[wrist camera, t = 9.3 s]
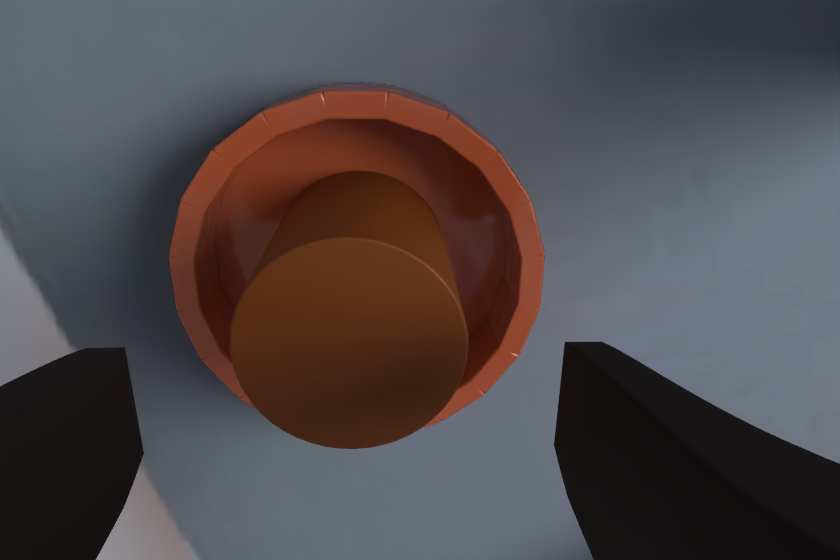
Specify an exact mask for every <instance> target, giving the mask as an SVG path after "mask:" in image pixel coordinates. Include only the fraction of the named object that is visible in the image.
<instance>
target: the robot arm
mask: <svg viewBox="0 0 840 560" xmlns="http://www.w3.org/2000/svg"><path fill="white" fill-rule="evenodd" d="M554 446H555V450H556V454H557V458H558V462H559V466H560V470H561V474H562V478H563V481H564V485H565V489H566V492H567V496H568V499H569V501H570V504H571V506H572V509H573V511H574V514H575V516H576V518H577V521H578V523H579V526H580V528H581V530H582V533H583V535H584V538H585V540H586V542H587V545H588V547H589V549H590V552H591V554H592V557H593V559H594V560H840V464H839V463H836V462H834V461H831V460H829V459H826V458H824V457H822V456H819V455H817V454H815V453H812V452H810V451H808V450H805V449H803V448H801V447H798V446H796V445H794V444H791V443H789V442H787V441H785V440H782V439H780V438H778V437H776V436H774V435H771V434H769V433H767V432H765V431H763V430H761V429H759V428H757V427H755V426H753V425H751V424H749V423H747V422H745V421H743V420H741V419H739V418H737V417H735V416H733V415H731V414H729V413H728V412H726V411H724V410H722V409H720V408H718V407H716V406H714V405H712V404H711V403H709V402H707V401H705V400H703V399H702V398H700V397H698V396H696V395H694V394H693V393H691V392H689V391H687V390H686V389H684V388H682V387H681V386H679V385H677V384H675V383H674V382H672V381H670V380H669V379H667V378H665V377H664V376H662V375H660V374H659V373H657V372H655V371H654V370H652V369H650V368H648V367H647V366H645V365H643V364H642V363H640V362H638V361H637V360H635V359H633V358H632V357H630V356H628V355H626V354H625V353H623V352H621V351H619V350H617V349H616V348H614V347H612V346H610V345H608V344H605V343H603V342H565V346H564V356H563V366H562V375H561V385H560V394H559V404H558V413H557V423H556V432H555V442H554ZM143 454H144V452H143V447H142V441H141V435H140V430H139V424H138V418H137V413H136V407H135V401H134V396H133V390H132V385H131V379H130V373H129V368H128V362H127V356H126V351H125V348H85V349H82V350H79V351H76V352H73V353H71V354H68V355H66V356H64V357H61V358H59V359H57V360H54V361H52V362H50V363H48V364H46V365H43V366H41V367H39V368H37V369H35V370H33V371H31V372H29V373H27V374H25V375H23V376H21V377H18V378H16V379H14V380H12V381H10V382H8V383H6V384H4V385H2V386H0V560H96V558H97V556H98V554H99V553H100V551H101V549H102V547H103V545H104V543H105V541H106V540H107V538H108V536H109V534H110V532H111V530H112V529H113V527H114V525H115V523H116V521H117V519H118V517H119V515H120V513H121V512H122V509H123V508H124V505H125V503H126V500H127V498H128V495H129V492H130V490H131V487H132V485H133V482H134V479H135V477H136V474H137V471H138V468H139V465H140V462H141V460H142V457H143Z"/></svg>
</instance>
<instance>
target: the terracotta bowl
mask: <svg viewBox="0 0 840 560" xmlns="http://www.w3.org/2000/svg"><path fill="white" fill-rule="evenodd" d="M347 171H371V172H376V173H381V174H384V175H387V176H390V177H393V178H395V179H397V180H399V181H401V182H403V183H405V184H406V185H408V186H409V187H411V188H412V189H413V190H415V191H416V192H417V193H418V194H419V195H420V196H421V197H422V198H423V199H424V200H425V201H426V202H427V204H428V205H429V206H430V208H431V209H432V211H433V212H434V214H435V216H436V218H437V220H438V223H439V226H440V229H441V232H442V235H443V239H444V243H445V246H446V250H447V254H448V257H449V261H450V265H451V268H452V272H453V276H454V280H455V283H456V287H457V291H458V294H459V298H460V302H461V305H462V309H463V313H464V316H465V320H466V326H467V331H468V356H467V363H466V367H465V370H464V374H463V377H462V379H461V381H460V384H459V386H458V388H457V390H456V391H455V393H454V395H453V396H452V398H451V400H450V401H449V402H448V403H447V405H446V406H445V407H444V408H443V410H442V411H441V412H440V413H439V414H438V415H437V416H436V417H435V418H434V419H432V420H431V421H430V422H429V423H427V424H426V425H425V426H423V427H426V426H429V425H433V424H436V423H439V422H440V420H441V421H443V420H445V419H446V418H448V417H449V416H451V415H453V414H454V413H456V412H457V411H459V410H461V409H462V408H464V407H465V406H467V405H469V404H470V403H472V402H473V401H475V400H477V399H478V398H480V397H481V396H483V395H484V393H486V392H487V391H488V390H489V389H490V388H491V387H492V386H493V384H494V383H495V382H496V381H497V380H498V379H499V378H500V376H501V375H502V374H503V373H504V372H505V371H506V370H507V368H508V367H509V366H510V365H511V364H512V363H513V362H514V361H515V359H516V358H517V357H518V355H519V354H520V353H521V350H522V348H523V346H524V344H525V341H526V339H527V337H528V335H529V332H530V330H531V328H532V325H533V323H534V321H535V319H536V316H537V314H538V312H539V309H540V307H539V306H540V304H541V293H542V282H543V270H544V259H545V256H544V254H543V253H544V248H543V244H542V240H541V236H540V232H539V228H538V224H537V220H536V216H535V212H534V208H533V204H532V202H531V200H530V196H529V195H528V193H527V192H526V190H525V189H524V187H523V186H522V184H521V183H520V181H519V180H518V178H517V177H516V175H515V174H514V172H513V171H512V169H511V168H510V166H509V165H508V163H507V162H506V160H505V159H504V157H503V156H502V154H501V152H500V151H499V150H498V149H497V148H496V147H495V146H494V145H493V144H492V143H491V141H490V140H489V139H488V138H487V137H486V136H485V135H484V134H482V133H481V132H480V131H479V130H477V129H476V128H475V127H473V126H472V125H471V124H470V123H469V122H468V121H466V120H465V119H463V118H462V117H461V116H459V115H458V114H457V113H455V112H454V111H453V110H451V109H450V108H449V107H447V106H446V105H444V104H442V103H440V102H439V101H436V100H433V99H430V98H429V97H426V96H423V95H420V94H418V93H415V92H412V91H409V90H407V89H402V88H398V87H395V86H392V85H386V84H372V83H343V84H330V85H323V86H320V87H317V88H313V89H310V90H307V91H304V92H301V93H298V94H296V95H293V96H290V97H287V98H284V99H281V100H278V101H276V102H275V103H272V104H271V105H269V106H268V107H266V108H265V109H263V110H262V111H261V112H259V113H258V114H256V115H255V116H254V117H253V118H251V119H250V120H249V121H247V122H246V123H245V124H244V125H242V126H241V127H240V128H238V129H237V130H236V131H235V132H233V133H232V134H231V135H229V136H228V137H227V138H226V139H224V140H223V141H222V142H220V143H219V144H218V145H217V146H215V147H214V149H213V150H211V151H210V153H209V154H208V156H207V157H206V159H205V161H204V162H203V164H202V165H201V167H200V169H199V170H198V172H197V173H196V175H195V177H194V178H193V180H192V181H191V183H190V185H189V186H188V188H187V189H186V191H185V193H184V194H183V196H182V197H181V202H180V203H179V208H178V212H177V217H176V222H175V227H174V232H173V236H172V241H171V246H170V251H169V255H170V257H169V263H170V270H171V277H172V284H173V291H174V298H175V305H176V309H177V310H178V315H179V317H180V319H181V321H182V323H183V325H184V327H185V329H186V331H187V333H188V335H189V337H190V339H191V341H192V343H193V345H194V347H195V349H196V351H197V353H198V355H199V357H200V358H201V359H202V361H203V362H204V363H205V364H206V365H207V366H208V368H209V369H210V370H211V371H212V372H213V373H214V374H215V375H216V376H217V377H218V378H219V379H220V380H221V381H222V382H223V383H224V384H225V385H226V386H227V387H228V388H229V389H230V390H231V391H232V392H233V393H234V394H235V395H236V396H237V397H240V399H241V400H242V401H244V402H246V403H248V404H249V405H251V406H253V407H255V406H254V405H253V404H252V403H251V401H250V400H249V398H248V397H247V395H246V394H245V393H244V391H243V389H242V387H241V385H240V383H239V381H238V379H237V376H236V373H235V370H234V368H233V364H232V359H231V354H230V329H231V322H232V318H233V314H234V311H235V308H236V306H237V303H238V301H239V299H240V297H241V295H242V293H243V291H244V289H245V287H246V285H247V283H248V282H249V280H250V278H251V276H252V274H253V272H254V270H255V269H256V267H257V265H258V263H259V261H260V259H261V257H262V255H263V254H264V252H265V250H266V248H267V246H268V244H269V242H270V241H271V239H272V237H273V235H274V233H275V231H276V229H277V227H278V226H279V224H280V222H281V220H282V218H283V216H284V214H285V213H286V211H287V209H288V208H289V206H290V205H291V203H292V202H293V201H294V200H295V199H296V197H297V196H298V195H299V194H300V193H302V192H303V191H304V190H305V189H306V188H307V187H309V186H310V185H312V184H313V183H315V182H317V181H319V180H321V179H323V178H325V177H327V176H330V175H333V174H336V173H342V172H347ZM255 408H256V407H255ZM256 409H257V408H256Z"/></svg>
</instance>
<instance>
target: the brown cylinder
mask: <svg viewBox="0 0 840 560" xmlns="http://www.w3.org/2000/svg"><path fill="white" fill-rule="evenodd" d="M230 354H231V359H232V364H233V368H234V370H235V373H236V376H237V379H238V381H239V383H240V385H241V387H242V389H243V391H244V393H245V394H246V395H247V397H248V398H249V400H250V401H251V403H252V404H253V405H254V406H255V407H256V408H257V409H258V411H259V412H260V413H261V414H262V415H263V416H265V417H266V418H267V419H268V420H269V421H270V422H272V423H273V424H274V425H276V426H277V427H279V428H280V429H282V430H283V431H285V432H287V433H289V434H291V435H293V436H295V437H297V438H299V439H302V440H305V441H307V442H310V443H314V444H317V445H321V446H326V447H333V448H343V449H358V448H369V447H375V446H380V445H384V444H387V443H391V442H394V441H397V440H399V439H401V438H404V437H406V436H408V435H410V434H412V433H414V432H415V431H417V430H419V429H421V428H422V427H423V426H425V425H426V424H427V423H429V422H430V421H431V420H432V419H434V418H435V417H436V416H437V415H438V414H439V413H440V412H441V411H442V410H443V408H444V407H445V406H446V405H447V403H448V402H449V401H450V400H451V398H452V396H453V395H454V393H455V391H456V390H457V388H458V386H459V384H460V381H461V379H462V377H463V374H464V370H465V367H466V363H467V356H468V331H467V326H466V320H465V316H464V313H463V309H462V305H461V302H460V298H459V294H458V291H457V287H456V283H455V280H454V276H453V272H452V268H451V265H450V261H449V257H448V254H447V250H446V246H445V243H444V239H443V235H442V232H441V229H440V226H439V223H438V220H437V218H436V216H435V214H434V212H433V211H432V209H431V208H430V206H429V205H428V204H427V202H426V201H425V200H424V199H423V198H422V197H421V196H420V195H419V194H418V193H417V192H416V191H415V190H413V189H412V188H411V187H409V186H408V185H406V184H405V183H403V182H401V181H399V180H397V179H395V178H393V177H390V176H387V175H384V174H381V173H376V172H371V171H347V172H342V173H336V174H333V175H330V176H327V177H325V178H323V179H321V180H319V181H317V182H315V183H313V184H312V185H310V186H309V187H307V188H306V189H305V190H304V191H303V192H302V193H300V194H299V195H298V196H297V197H296V199H295V200H294V201H293V202H292V203H291V205H290V206H289V208H288V209H287V211H286V213H285V214H284V216H283V218H282V220H281V222H280V224H279V226H278V227H277V229H276V231H275V233H274V235H273V237H272V239H271V241H270V242H269V244H268V246H267V248H266V250H265V252H264V254H263V255H262V257H261V259H260V261H259V263H258V265H257V267H256V269H255V270H254V272H253V274H252V276H251V278H250V280H249V282H248V283H247V285H246V287H245V289H244V291H243V293H242V295H241V297H240V299H239V301H238V303H237V306H236V308H235V311H234V314H233V318H232V322H231V329H230Z"/></svg>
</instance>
